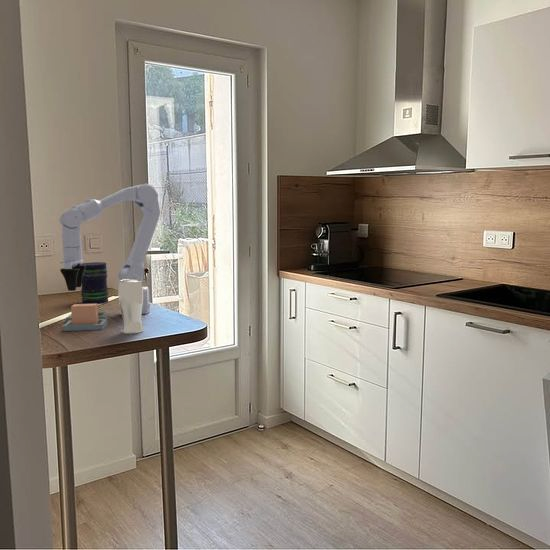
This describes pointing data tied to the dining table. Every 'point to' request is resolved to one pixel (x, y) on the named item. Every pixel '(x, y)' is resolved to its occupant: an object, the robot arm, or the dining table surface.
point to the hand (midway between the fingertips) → (74, 288)
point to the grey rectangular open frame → (100, 316)
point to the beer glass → (131, 305)
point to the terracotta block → (84, 314)
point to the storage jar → (94, 283)
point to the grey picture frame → (85, 326)
